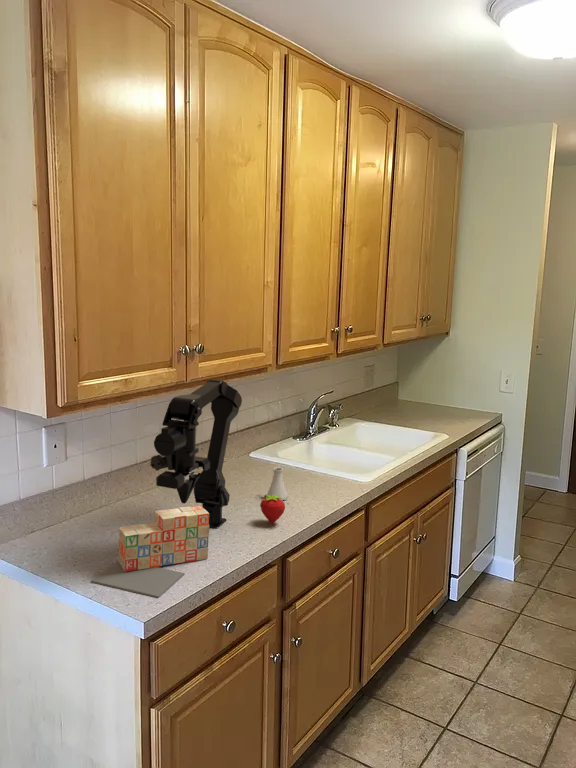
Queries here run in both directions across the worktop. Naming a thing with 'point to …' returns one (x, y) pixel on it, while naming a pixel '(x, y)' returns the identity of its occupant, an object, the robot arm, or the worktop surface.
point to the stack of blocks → (165, 539)
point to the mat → (139, 579)
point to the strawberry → (272, 508)
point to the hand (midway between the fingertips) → (183, 502)
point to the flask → (278, 485)
